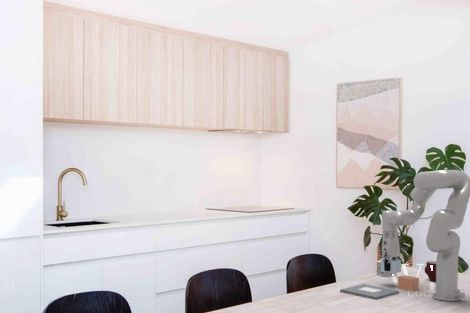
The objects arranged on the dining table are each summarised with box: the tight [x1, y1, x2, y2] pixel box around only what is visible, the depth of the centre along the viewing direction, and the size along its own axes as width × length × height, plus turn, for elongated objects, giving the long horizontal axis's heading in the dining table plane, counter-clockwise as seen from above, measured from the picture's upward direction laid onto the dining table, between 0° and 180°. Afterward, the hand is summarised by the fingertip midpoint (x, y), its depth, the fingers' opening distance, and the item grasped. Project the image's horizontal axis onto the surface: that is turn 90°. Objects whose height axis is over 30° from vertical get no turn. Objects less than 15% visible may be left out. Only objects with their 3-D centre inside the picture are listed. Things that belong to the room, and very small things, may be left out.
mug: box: [424, 260, 436, 283], centre depth 314 cm, size 10×8×10 cm
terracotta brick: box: [397, 274, 420, 292], centre depth 293 cm, size 8×6×6 cm
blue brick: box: [380, 259, 402, 274], centre depth 301 cm, size 8×6×6 cm
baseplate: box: [339, 283, 400, 301], centre depth 284 cm, size 20×20×1 cm
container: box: [376, 251, 397, 278], centre depth 327 cm, size 8×8×13 cm
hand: (390, 269), depth 300 cm, fingers closed on blue brick, 6 cm apart
